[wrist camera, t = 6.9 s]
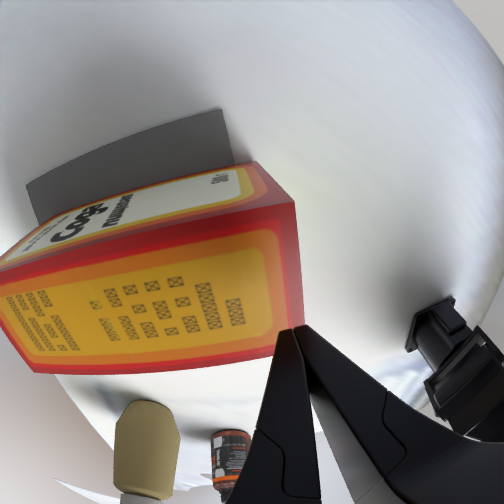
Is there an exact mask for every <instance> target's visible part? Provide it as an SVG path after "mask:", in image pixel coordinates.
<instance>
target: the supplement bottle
mask: <svg viewBox="0 0 504 504" xmlns="http://www.w3.org/2000/svg"><path fill="white" fill-rule="evenodd" d="M250 444H251V437H250V435H249V434H247V433H245V432H242V431H234V430H229V431H221V432H218V433H216V434H214V435H213V436H212V437H211V459H212V460H211V461H212V479H213V487H214V488H215V489H216V490H217V491H219V492H220V494H221V501H222V503H223V504H225V502H226V500H227V498H228V496H229V494H230V492H231V490H232V488H233V486H234V484H235V482H236V480H237V478H238V476H239V474H240V471H241V469H242V467H243V464H244V462H245V460H246V457H247V454H248V451H249V448H250Z"/></svg>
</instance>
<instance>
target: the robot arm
mask: <svg viewBox="0 0 504 504" xmlns="http://www.w3.org/2000/svg"><path fill="white" fill-rule="evenodd" d="M455 301H456V300H455V299H454V298H453V297H452V298H450V299H448V300H446V301H443V302H441V303H439V304H437V305H434V306H432V307H430V308H428V309H425V310H423V311H420V312H418V313H417V314H416V315H415V317H414V321H413V325H412V329H411V333H410V336H409V340H408V344H407V347H406V351H407V352H408V353H409V352H412V351H414V350H416V349H418V350H419V352H420V353H421V354H422V356H423V357H424V359H425V360H426V362H427V363H428V365H429V366H430V368H431V369H432V370H433V372H434V373H433V374H432V375H431V376H430V377H429V378H428V379H426V380H425V381H424V382H423V383H424V385H425V389H426V392H427V394H428V396H429V399H430V401H431V404H432V406H433V408H434V413H435V416H436V417H440V418H441V419H442V420H443V421H444V422H446V423H450V425H451V427H452V429H453V431H452V430H450V429H448V428H446V427H444V426H443V425H441V424H439V423H437V422H435V421H433V420H432V419H430V418H428V417H427V416H425V415H423V414H422V413H420V412H418V411H417V410H415V409H413V408H412V407H411V406H409V405H408V404H406V403H405V402H404V401H402V400H401V399H399V398H398V397H397V396H396V395H394V394H393V393H392V392H391V391H387V389H386V388H385V387H384V386H383V385H381V384H380V383H379V382H378V381H376V380H375V379H374V378H373V377H371V376H370V375H369V374H368V373H366V372H365V371H364V370H362V369H361V368H360V367H359V366H357V365H356V364H355V363H354V362H352V361H351V360H350V359H349V358H348V357H346V356H345V355H344V354H343V353H341V352H340V351H339V350H338V349H336V348H335V347H334V346H333V345H331V344H330V343H329V342H328V341H327V340H325V339H324V338H323V337H322V336H320V335H319V334H318V333H317V332H316V331H314V330H313V329H312V328H311V327H309V326H308V325H306V324H305V325H301V326H297V327H294V329H292V328H289V329H285V330H281V331H279V333H278V337H277V341H276V346H275V350H274V355H273V359H272V363H271V367H270V372H269V376H268V380H267V384H266V388H265V392H264V396H263V400H262V404H261V408H260V412H259V416H258V420H257V423H256V430H254V434H253V438H252V441H251V444H250V448H249V451H248V454H247V457H246V460H245V462H244V464H243V467H242V469H241V471H240V474H239V476H238V478H237V480H236V482H235V484H234V486H233V488H232V490H231V492H230V494H229V496H228V498H227V500H226V502H225V504H322V502H321V490H320V480H319V469H318V459H317V450H316V441H315V433H314V425H313V417H312V409H311V403H312V405H313V407H314V410H315V412H316V415H317V417H318V419H319V422H320V424H321V426H322V429H323V431H324V433H325V436H326V438H327V440H328V443H329V445H330V448H331V450H332V452H333V455H334V457H335V459H336V462H337V464H338V466H339V469H340V471H341V473H342V476H343V478H344V480H345V483H346V485H347V487H348V490H349V492H350V494H351V497H352V499H353V501H354V502H355V504H504V355H503V354H502V352H501V351H500V350H499V349H498V348H497V346H496V345H495V344H494V343H493V342H492V341H491V339H490V338H489V337H488V336H487V335H486V334H485V333H484V332H483V331H482V329H481V328H480V327H479V326H478V325H476V327H475V328H474V330H473V331H472V330H471V329H470V328H469V327H468V326H467V325H466V323H467V322H466V321H465V320H464V319H463V318H462V316H461V315H460V314H459V313H458V312H457V311H456V310H455V309H454V305H455ZM484 342H486V343H485V344H484V345H482V344H483V343H484ZM481 345H482V346H481ZM310 400H311V401H310ZM464 435H465V436H468V437H471V438H474V439H477V440H480V441H481V442H479V441H475V440H471V439H468V438H466V437H464Z"/></svg>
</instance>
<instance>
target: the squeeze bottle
mask: <svg viewBox="0 0 504 504" xmlns="http://www.w3.org/2000/svg"><path fill="white" fill-rule="evenodd" d="M179 445H180V436H179V433H178V430H177V427H176V423H175V420H174V417H173V414H172V412H171V411H170V410H169V409H168V408H166V407H165V406H162V405H160V404H158V403H154V402H150V401H142V400H138V401H133V402H131V403H130V404H129V405H128V406H127V408H126V409H125V411H124V412H123V414H122V415H121V417H120V418H119V420H118V421H117V422H116V428H115V443H114V474H113V475H114V482H113V483H114V485H115V487H116V488H117V489H119V490H120V491H122V492H123V493H125V494H121V500H120V504H163V502H161V501H159V500H166V499H168V498H169V497H171V496H172V493H173V485H174V478H175V471H176V464H177V457H178V451H179Z"/></svg>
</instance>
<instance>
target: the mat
mask: <svg viewBox="0 0 504 504" xmlns="http://www.w3.org/2000/svg"><path fill="white" fill-rule="evenodd" d="M231 165H234V162H233V157H232V153H231V148H230V144H229V139H228V135H227V130H226V126H225V121H224V117H223V112H222V109H221V110H217V111H212V112H208V113H204V114H200V115H196V116H192V117H188V118H185V119H181V120H178V121H174V122H171V123H167V124H164V125H161V126H158V127H155V128H152V129H149V130H146V131H143V132H140V133H137V134H134V135H131V136H129V137H126V138H123V139H121V140H118V141H116V142H113V143H111V144H108V145H106V146H103V147H101V148H98V149H96V150H94V151H91V152H89V153H87V154H85V155H83V156H80V157H78V158H76V159H74V160H72V161H70V162H68V163H66V164H64V165H62V166H60V167H58V168H56V169H54V170H52V171H50V172H48V173H46V174H45V175H43V176H41V177H39V178H37V179H36V180H34V181H32V182H30V183H29V184H27V185H26V188H27V191H28V194H29V197H30V200H31V203H32V206H33V209H34V212H35V215H36V217H37V220H38V223H39V225H41V224H42V223H43V222H45V221H46V220H48V219H49V218H50V217H52V216H54V215H56V214H59V213H62V212H64V211H67V210H70V209H72V208H75V207H78V206H81V205H84V204H87V203H90V202H93V201H96V200H99V199H102V198H105V197H108V196H111V195H114V194H118V193H121V192H124V191H128V190H131V189H135V188H138V187H142V186H145V185H149V184H153V183H156V182H160V181H164V180H168V179H172V178H176V177H180V176H184V175H189V174H193V173H198V172H202V171H207V170H211V169H216V168H221V167H226V166H231Z"/></svg>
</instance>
